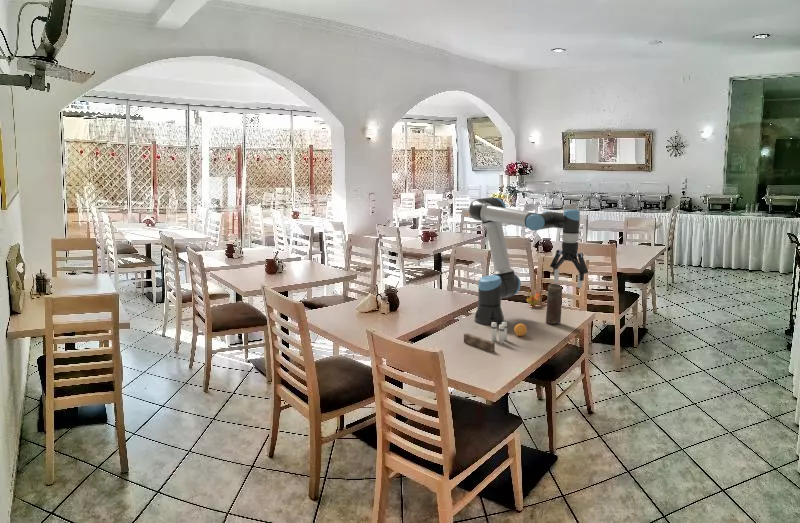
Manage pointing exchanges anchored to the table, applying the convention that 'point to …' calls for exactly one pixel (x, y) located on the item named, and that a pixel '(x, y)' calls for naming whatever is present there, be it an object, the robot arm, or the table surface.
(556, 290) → the rusty brown cylinder
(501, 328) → the pin
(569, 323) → the table surface
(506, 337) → the front pin
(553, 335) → the table surface
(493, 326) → the pin
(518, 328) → the ball
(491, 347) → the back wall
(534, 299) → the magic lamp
